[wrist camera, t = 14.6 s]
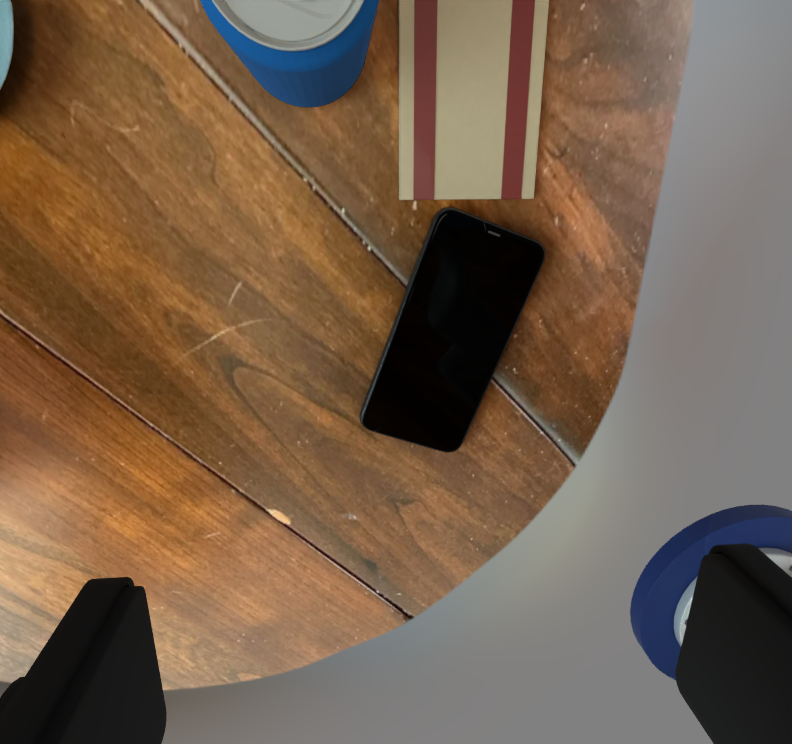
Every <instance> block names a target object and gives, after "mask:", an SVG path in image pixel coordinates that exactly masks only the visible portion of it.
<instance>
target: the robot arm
mask: <svg viewBox="0 0 792 744" xmlns="http://www.w3.org/2000/svg"><path fill="white" fill-rule="evenodd" d="M674 632H675V637H676V639H677V641H678V643H679V645H680V646H681V650H680V655H679V659H678V663H677V668H676V682H677V685H678V688H679V691H680V693H681V695H682V696H683V698H684V699H685V701H686V703H687V704H688V706H689V707H690V709H691V710H692V712H693V713H694V714H695V716H696V718H697V719H698V721H699V722H700V724H701V725H702V727H703V728H704V730H705V731H706V733H707V734H708V736H709V737H710V739H711V740H712V742H713V743H714V744H792V553H790V552H788V551H784V550H781V549H777V548H767V547H765V548H757V547H755V546H754V545H752V544H748V543H744V544H725V545H716V546H713V547H712V548H711V549H710V551H709V554H708V555H705V556H704V557H703V558H702V561H701V565H700V569H699V573H698V576H697V577H696V578H695V579H694V580H693V581H692V582H691V583H690V585H689V586H688V587H687V589H686V590H685V592H684V593H683V595H682V597H681V599H680V601H679V603H678V605H677V608H676V611H675V615H674ZM165 727H166V706H165V701H164V695H163V689H162V683H161V678H160V672H159V666H158V661H157V655H156V649H155V644H154V638H153V632H152V627H151V621H150V615H149V610H148V604H147V598H146V593H145V589H144V588H143V587H142V586H134V583H133V581H132V579H131V578H129V577H120V578H101V579H91V580H89V581H88V582H87V583H86V584H85V585H84V586H83V588H82V589H81V591H80V593H79V594H78V596H77V597H76V599H75V600H74V602H73V603H72V605H71V606H70V608H69V609H68V611H67V613H66V614H65V616H64V617H63V619H62V620H61V622H60V623H59V625H58V626H57V628H56V630H55V631H54V633H53V634H52V636H51V637H50V639H49V640H48V642H47V643H46V645H45V646H44V648H43V650H42V651H41V653H40V654H39V656H38V657H37V659H36V660H35V662H34V663H33V665H32V667H31V668H30V670H29V671H28V673H27V674H26V676H25V677H20V678H19V679H17V680H16V681H14V682H13V683H11V685H10V686H9V687H8V688H7V690H6V691H5V692H4V693H3V695H2V696H1V698H0V744H161V743H162V740H163V736H164V732H165Z"/></svg>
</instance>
